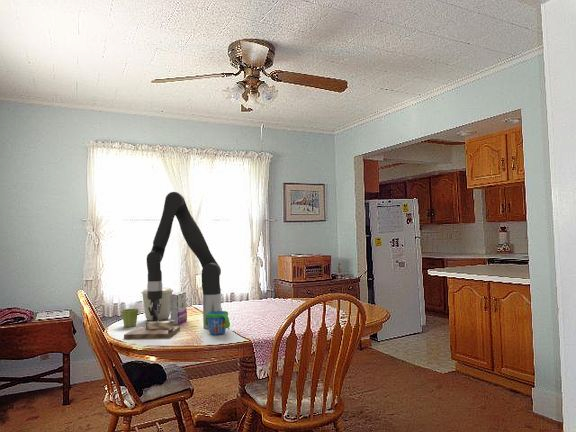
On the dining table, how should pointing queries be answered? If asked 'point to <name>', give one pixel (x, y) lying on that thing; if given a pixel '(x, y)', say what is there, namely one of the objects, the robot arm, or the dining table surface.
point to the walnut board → (151, 333)
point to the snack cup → (217, 322)
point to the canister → (164, 303)
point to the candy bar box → (178, 307)
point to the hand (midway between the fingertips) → (155, 323)
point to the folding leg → (160, 324)
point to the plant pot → (129, 317)
